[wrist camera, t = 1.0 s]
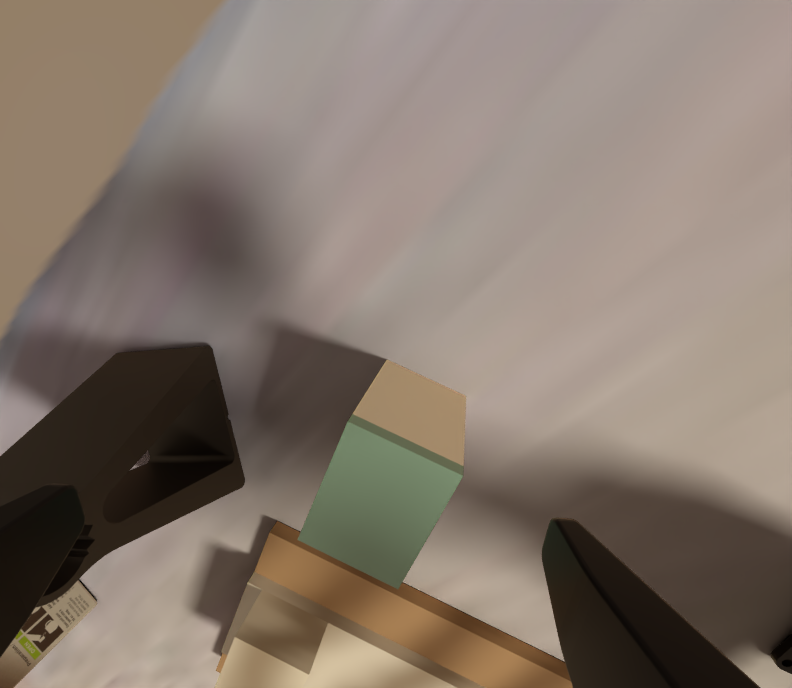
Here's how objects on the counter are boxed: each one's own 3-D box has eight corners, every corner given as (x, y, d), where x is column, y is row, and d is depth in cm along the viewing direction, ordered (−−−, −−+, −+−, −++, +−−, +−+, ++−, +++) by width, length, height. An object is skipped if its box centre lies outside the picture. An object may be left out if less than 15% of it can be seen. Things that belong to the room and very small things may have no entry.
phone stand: (246, 483, 25) (57, 698, 14) (162, 482, 26) (-74, 678, 15) (212, 344, 23) (-50, 464, 11) (122, 350, 24) (-195, 464, 12)
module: (466, 395, 21) (463, 475, 14) (419, 483, 23) (398, 589, 16) (386, 359, 21) (347, 421, 14) (347, 449, 23) (297, 539, 16)
